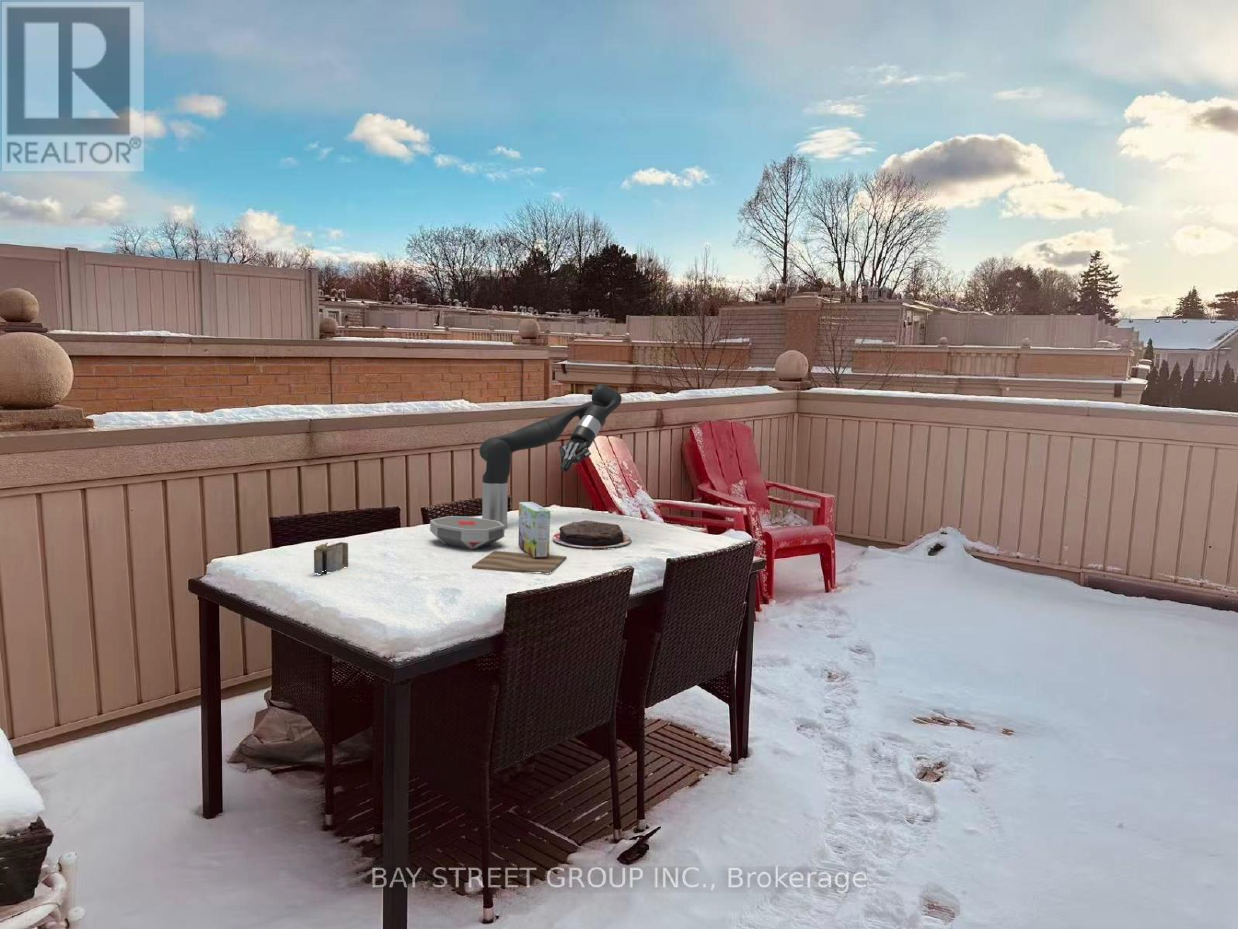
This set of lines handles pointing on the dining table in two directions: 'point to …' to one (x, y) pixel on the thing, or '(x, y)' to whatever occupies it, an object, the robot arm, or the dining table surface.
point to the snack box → (534, 529)
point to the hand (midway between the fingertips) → (563, 470)
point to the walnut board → (518, 562)
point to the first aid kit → (467, 531)
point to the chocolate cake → (591, 535)
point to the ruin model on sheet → (330, 557)
